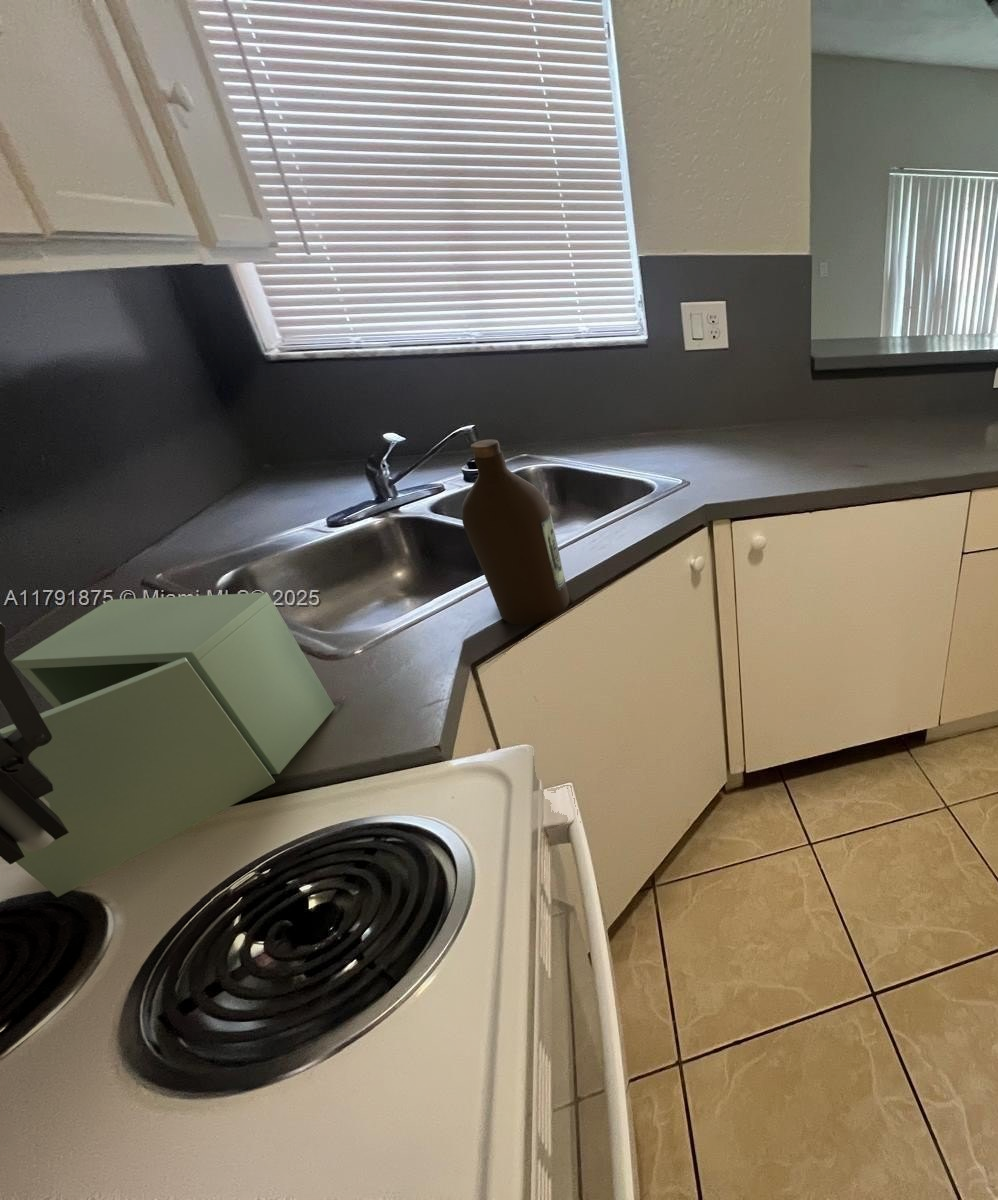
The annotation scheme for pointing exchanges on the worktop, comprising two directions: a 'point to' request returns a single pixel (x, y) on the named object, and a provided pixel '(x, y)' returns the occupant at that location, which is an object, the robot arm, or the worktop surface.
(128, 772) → the cupboard door
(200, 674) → the cupboard
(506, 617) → the olive oil
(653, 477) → the worktop surface
